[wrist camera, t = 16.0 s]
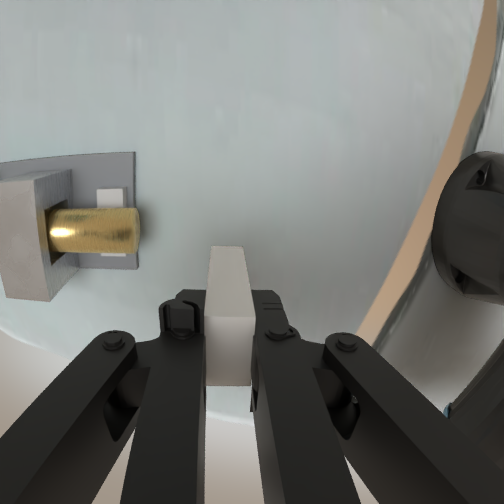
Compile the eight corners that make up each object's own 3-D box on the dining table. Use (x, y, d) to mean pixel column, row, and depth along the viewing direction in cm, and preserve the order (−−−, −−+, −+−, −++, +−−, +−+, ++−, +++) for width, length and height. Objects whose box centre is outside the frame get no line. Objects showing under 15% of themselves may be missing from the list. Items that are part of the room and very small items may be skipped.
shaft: (139, 203, 21) (128, 213, 18) (140, 245, 22) (131, 260, 19) (-5, 207, 20) (-26, 217, 17) (0, 243, 21) (-20, 255, 18)
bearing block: (75, 167, 22) (33, 179, 16) (82, 265, 24) (50, 301, 18) (34, 171, 21) (-12, 184, 15) (43, 263, 24) (6, 297, 18)
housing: (135, 151, 22) (119, 154, 18) (138, 266, 25) (126, 288, 21) (-67, 175, 19) (-91, 182, 15) (-55, 259, 22) (-77, 273, 18)
